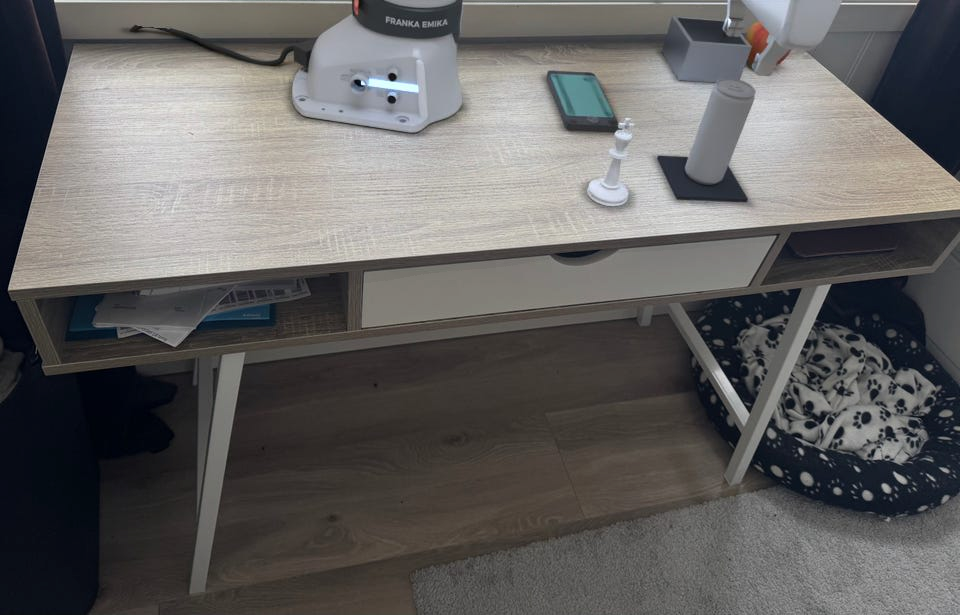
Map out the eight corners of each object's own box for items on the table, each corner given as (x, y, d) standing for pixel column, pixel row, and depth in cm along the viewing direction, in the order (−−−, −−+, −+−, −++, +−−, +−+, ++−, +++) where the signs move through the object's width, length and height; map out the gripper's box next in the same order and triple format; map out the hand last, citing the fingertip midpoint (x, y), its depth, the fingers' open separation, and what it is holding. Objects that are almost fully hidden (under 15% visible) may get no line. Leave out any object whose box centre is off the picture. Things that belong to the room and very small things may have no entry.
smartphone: (568, 122, 96) (546, 68, 107) (566, 130, 97) (545, 76, 108) (621, 124, 98) (595, 71, 108) (619, 132, 98) (593, 79, 109)
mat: (676, 199, 88) (677, 196, 88) (656, 158, 95) (657, 155, 94) (746, 202, 89) (748, 199, 89) (722, 161, 96) (724, 158, 95)
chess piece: (583, 181, 89) (601, 106, 82) (622, 183, 89) (644, 109, 82) (591, 205, 85) (611, 129, 78) (631, 207, 86) (655, 131, 79)
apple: (732, 53, 122) (749, 5, 116) (775, 59, 122) (794, 11, 117) (742, 73, 116) (761, 24, 111) (787, 79, 117) (808, 30, 111)
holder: (678, 80, 112) (690, 42, 108) (661, 52, 119) (672, 15, 115) (738, 84, 113) (752, 46, 109) (717, 56, 120) (730, 19, 116)
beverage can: (722, 190, 90) (758, 100, 82) (683, 182, 90) (715, 92, 82) (721, 169, 93) (755, 82, 85) (683, 162, 94) (714, 73, 85)
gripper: (732, -118, 78) (690, 11, 88) (811, -51, 64) (750, 95, 73) (787, -111, 79) (739, 16, 89) (877, -43, 65) (808, 100, 74)
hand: (744, 52), depth 81 cm, fingers open, 8 cm apart
